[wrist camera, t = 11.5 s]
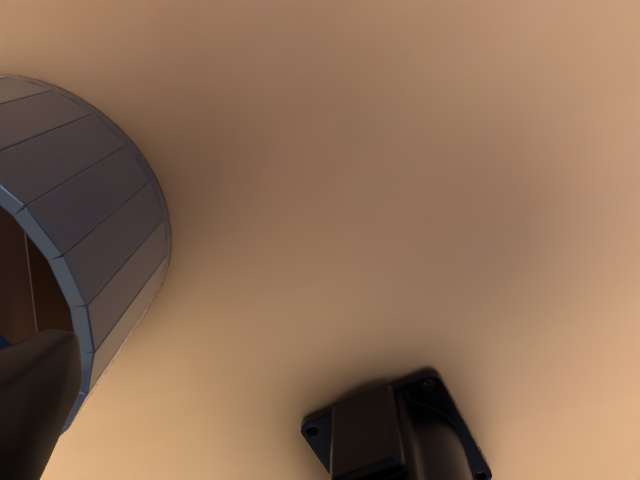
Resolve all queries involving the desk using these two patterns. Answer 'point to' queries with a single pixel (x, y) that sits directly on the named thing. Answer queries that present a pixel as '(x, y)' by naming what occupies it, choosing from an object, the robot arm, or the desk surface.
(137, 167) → the dark grey round bowl
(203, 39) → the desk surface
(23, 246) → the dark rectangular block
